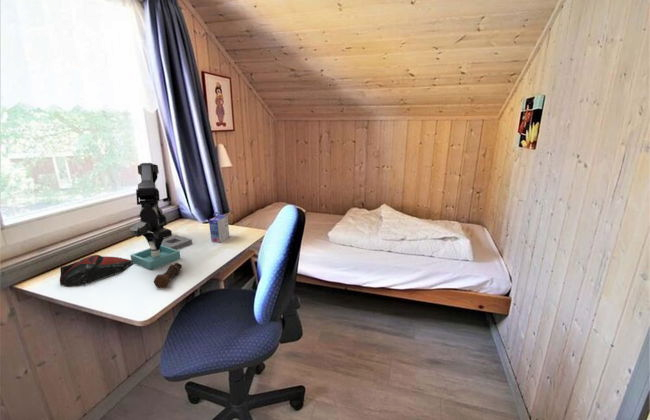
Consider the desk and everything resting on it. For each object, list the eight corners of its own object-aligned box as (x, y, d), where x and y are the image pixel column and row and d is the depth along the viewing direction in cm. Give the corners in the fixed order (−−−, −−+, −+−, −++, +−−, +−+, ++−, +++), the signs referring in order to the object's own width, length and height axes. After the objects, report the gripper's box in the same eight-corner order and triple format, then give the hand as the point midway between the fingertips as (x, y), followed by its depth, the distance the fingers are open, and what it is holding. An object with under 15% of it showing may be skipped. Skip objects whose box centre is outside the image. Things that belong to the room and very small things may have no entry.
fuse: (149, 256, 139) (147, 241, 137) (157, 253, 142) (155, 239, 140) (154, 258, 137) (152, 243, 135) (162, 255, 140) (160, 240, 138)
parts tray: (131, 262, 137) (130, 254, 136) (161, 251, 149) (160, 244, 148) (150, 270, 131) (149, 262, 130) (180, 258, 142) (179, 251, 141)
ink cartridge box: (220, 235, 171) (218, 210, 167) (229, 236, 170) (228, 210, 166) (210, 242, 161) (207, 215, 157) (219, 243, 160) (217, 216, 156)
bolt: (181, 273, 132) (163, 291, 118) (170, 268, 131) (151, 285, 117) (187, 262, 131) (170, 279, 116) (176, 257, 130) (157, 273, 116)
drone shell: (52, 289, 115) (47, 269, 113) (79, 265, 134) (76, 248, 132) (116, 283, 120) (113, 264, 118) (134, 261, 138) (132, 245, 136)
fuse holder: (155, 246, 154) (154, 242, 154) (176, 238, 164) (176, 235, 164) (170, 251, 149) (170, 247, 148) (192, 243, 159) (191, 239, 158)
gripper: (118, 215, 132) (124, 250, 136) (144, 223, 123) (150, 260, 127) (144, 209, 141) (148, 242, 145) (170, 216, 132) (174, 251, 136)
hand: (154, 248), depth 138 cm, fingers closed on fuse, 4 cm apart
